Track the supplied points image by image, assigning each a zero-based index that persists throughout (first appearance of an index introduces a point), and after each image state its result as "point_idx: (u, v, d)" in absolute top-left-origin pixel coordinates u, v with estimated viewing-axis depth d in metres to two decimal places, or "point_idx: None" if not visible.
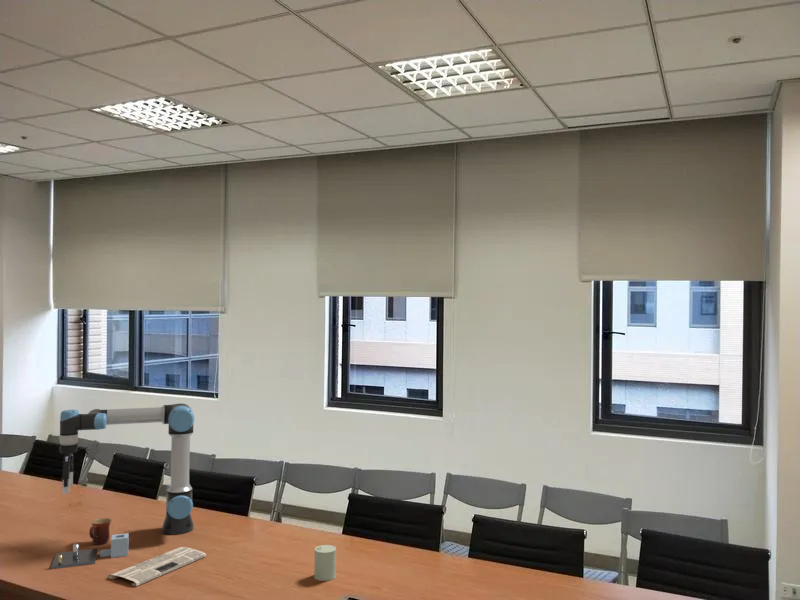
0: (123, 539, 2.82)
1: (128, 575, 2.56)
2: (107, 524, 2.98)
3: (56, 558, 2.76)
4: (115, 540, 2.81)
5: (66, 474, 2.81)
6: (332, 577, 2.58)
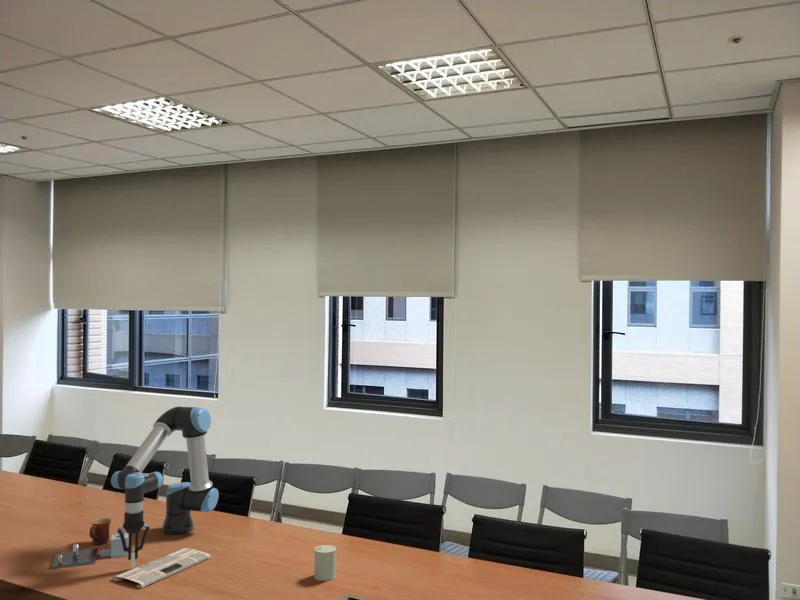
0: None
1: (133, 577, 2.54)
2: (107, 524, 2.98)
3: (56, 558, 2.76)
4: (115, 540, 2.81)
5: None
6: (332, 577, 2.58)
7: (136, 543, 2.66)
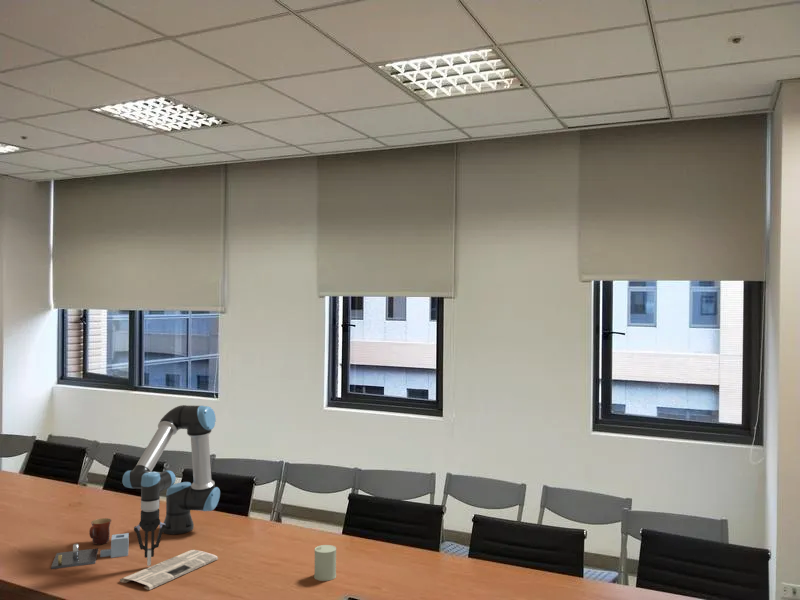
0: (123, 539, 2.82)
1: (140, 579, 2.52)
2: (107, 524, 2.98)
3: (56, 558, 2.76)
4: (115, 540, 2.81)
5: None
6: (332, 577, 2.58)
7: (152, 541, 2.69)
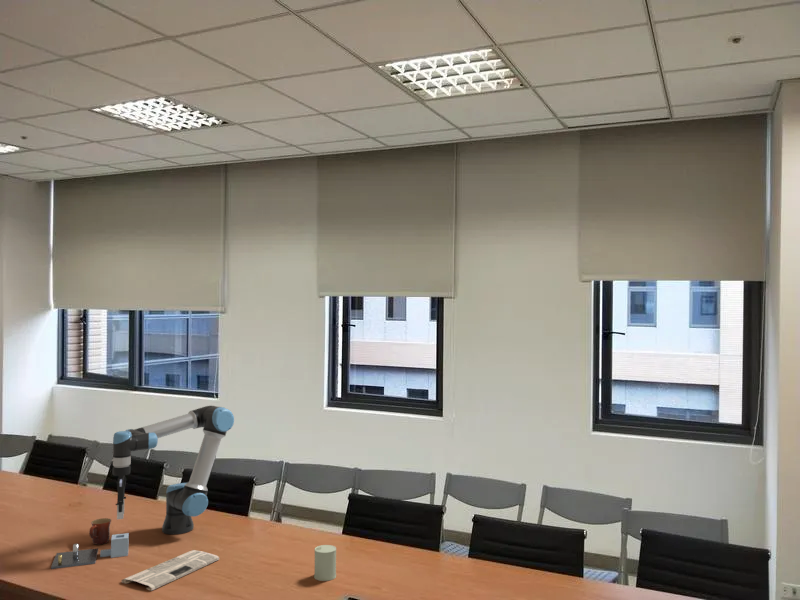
0: (123, 539, 2.82)
1: (142, 579, 2.51)
2: (107, 524, 2.98)
3: (56, 558, 2.76)
4: (115, 540, 2.81)
5: (121, 500, 2.80)
6: (332, 577, 2.58)
7: None
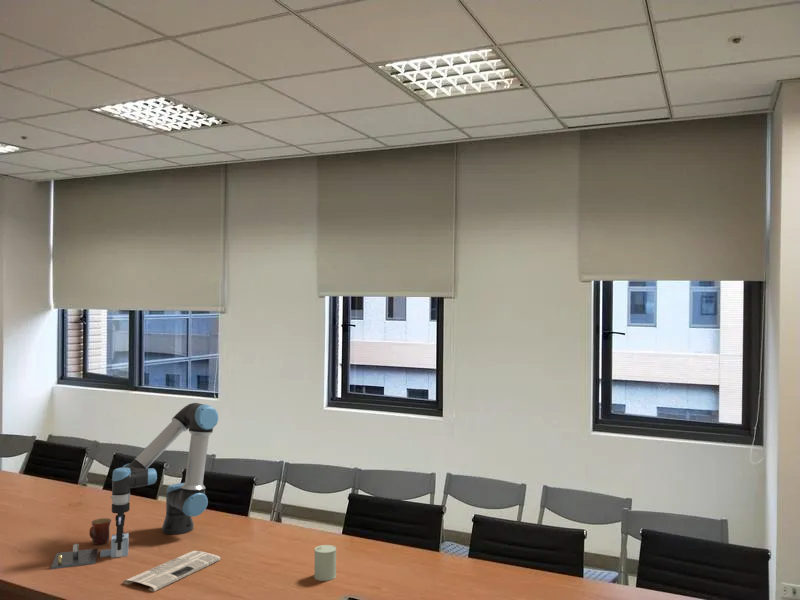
0: (123, 539, 2.82)
1: (144, 580, 2.50)
2: (107, 524, 2.98)
3: (56, 558, 2.76)
4: (115, 540, 2.81)
5: (120, 538, 2.79)
6: (332, 577, 2.58)
7: None
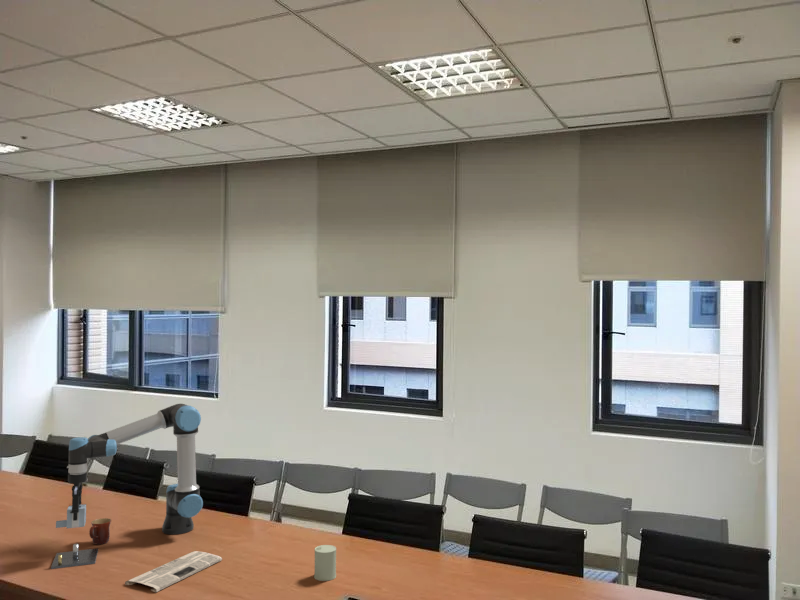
0: (79, 510, 2.76)
1: (146, 581, 2.50)
2: (107, 524, 2.98)
3: (56, 558, 2.76)
4: (71, 510, 2.75)
5: (76, 508, 2.73)
6: (332, 577, 2.58)
7: (80, 499, 2.83)
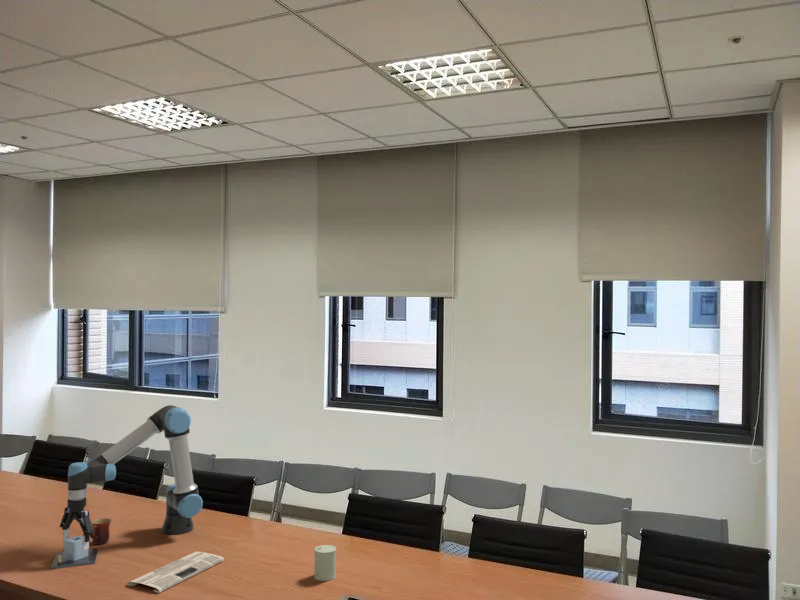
0: None
1: (149, 582, 2.49)
2: (107, 524, 2.98)
3: (56, 558, 2.76)
4: (77, 542, 2.75)
5: (90, 528, 2.75)
6: (332, 577, 2.58)
7: None
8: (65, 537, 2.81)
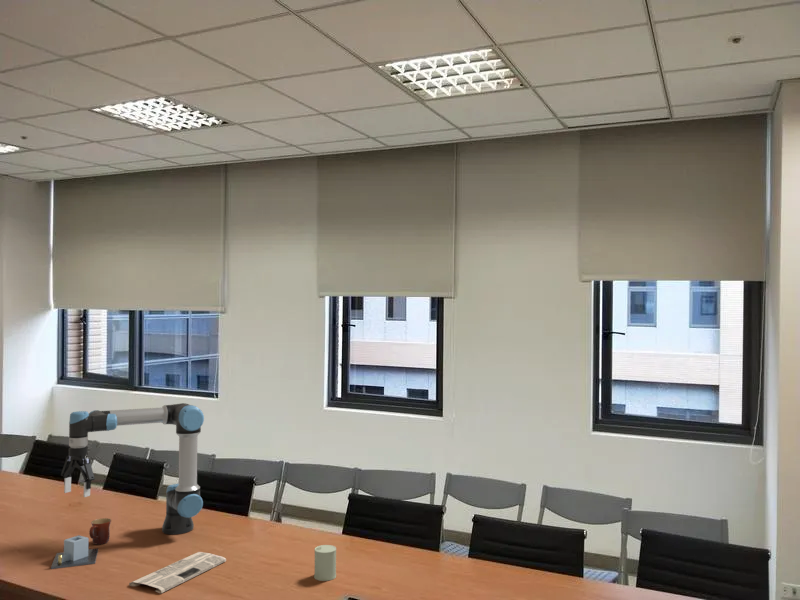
0: (84, 540, 2.78)
1: (151, 582, 2.49)
2: (107, 524, 2.98)
3: (56, 558, 2.76)
4: (77, 542, 2.75)
5: (91, 475, 2.75)
6: (332, 577, 2.58)
7: None
8: (66, 485, 2.82)
